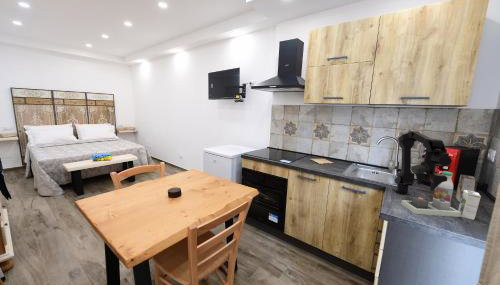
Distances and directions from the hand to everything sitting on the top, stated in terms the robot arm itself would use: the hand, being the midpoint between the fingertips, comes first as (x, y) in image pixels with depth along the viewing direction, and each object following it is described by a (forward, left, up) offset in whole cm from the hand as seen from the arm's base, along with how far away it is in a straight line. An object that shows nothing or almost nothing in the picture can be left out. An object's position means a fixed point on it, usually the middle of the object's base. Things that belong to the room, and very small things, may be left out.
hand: (424, 187), depth 117 cm
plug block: (+6, -6, -11) cm, 14 cm away
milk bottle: (-7, +17, -12) cm, 22 cm away
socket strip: (+6, 0, -12) cm, 13 cm away
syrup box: (+10, +16, -12) cm, 22 cm away
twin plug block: (+6, +5, -11) cm, 14 cm away
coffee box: (-13, +36, -12) cm, 40 cm away
